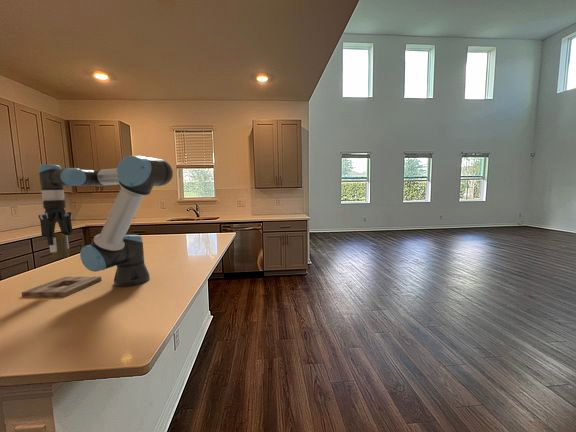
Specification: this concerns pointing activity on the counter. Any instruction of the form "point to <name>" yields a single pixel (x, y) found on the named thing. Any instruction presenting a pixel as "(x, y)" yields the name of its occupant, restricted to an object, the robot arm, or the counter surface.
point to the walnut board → (53, 291)
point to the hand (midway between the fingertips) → (60, 250)
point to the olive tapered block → (60, 247)
